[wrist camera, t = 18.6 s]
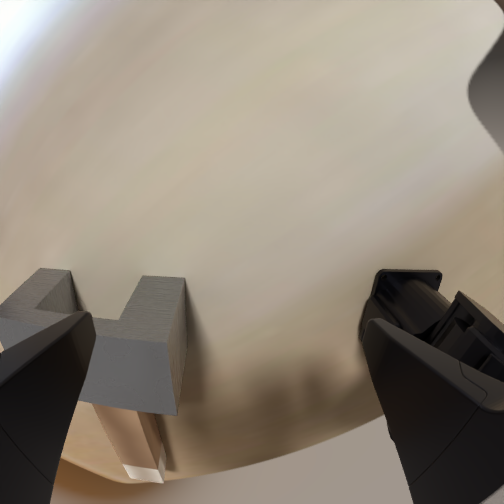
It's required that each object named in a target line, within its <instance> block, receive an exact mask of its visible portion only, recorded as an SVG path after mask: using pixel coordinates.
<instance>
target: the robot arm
mask: <svg viewBox="0 0 504 504" xmlns="http://www.w3.org/2000/svg"><path fill="white" fill-rule="evenodd" d="M383 275H385V276H384V277H383V278H381V277H382V276H383ZM436 276H437V278H436ZM441 280H442V273H441V272H440V271H438V270H398V269H382V270H380V271H379V272H378V273H377V275H376V279H375V283H374V286H373V290H372V294H371V296H370V298H369V300H368V304H367V308H366V311H365V314H364V318H363V321H362V328H361V332H360V335H359V338H360V340H361V341H362V345H363V349H364V353H365V356H366V360H367V364H368V367H369V371H370V375H371V379H372V382H373V385H374V388H375V390H376V393H377V396H378V398H379V401H380V404H381V406H382V409H383V412H384V414H385V417H386V420H387V426H388V431H389V434H390V437H391V439H392V440H393V441H394V443H395V445H396V449H397V452H398V455H399V458H400V461H401V464H402V467H403V470H404V473H405V476H406V480H407V482H408V486H409V490H410V493H411V497H412V500H413V504H504V324H502V323H501V322H500V321H499V320H498V319H497V318H496V317H495V316H493V315H492V314H491V313H490V312H489V311H488V310H486V309H485V308H484V307H482V306H481V305H479V304H478V303H477V302H475V301H474V300H472V299H471V298H469V297H468V296H467V295H465V294H464V293H462V292H461V291H458V292H457V294H456V295H455V299H454V301H453V302H452V304H451V303H450V302H449V301H448V300H447V299H446V298H445V297H444V296H442V295H441V294H440V293H439V292H438V289H439V286H440V283H441ZM95 341H96V331H95V327H94V323H93V319H92V315H91V313H89V312H85V311H77V312H76V313H74V314H72V315H70V316H68V317H66V318H64V319H62V320H60V321H58V322H56V323H55V324H53V325H51V326H49V327H47V328H45V329H43V330H41V331H39V332H38V333H36V334H34V335H32V336H30V337H28V338H26V339H25V340H23V341H21V342H19V343H17V344H15V345H14V346H12V347H10V348H8V349H6V350H4V351H3V352H2V353H0V504H50V500H51V495H52V491H53V485H54V481H55V477H56V472H57V469H58V465H59V461H60V457H61V453H62V450H63V446H64V443H65V439H66V436H67V433H68V429H69V426H70V423H71V420H72V417H73V414H74V411H75V408H76V405H77V402H78V399H79V396H80V393H81V390H82V387H83V385H84V382H85V379H86V375H87V372H88V368H89V364H90V360H91V356H92V352H93V349H94V345H95Z"/></svg>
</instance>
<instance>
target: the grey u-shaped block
mask: <svg viewBox="0 0 504 504" xmlns="http://www.w3.org/2000/svg"><path fill="white" fill-rule="evenodd" d="M77 311H78V307H77V303H76V299H75V294H74V289H73V284H72V279H71V274H70V271H69V270H56V269H45V268H40V269H39V270H38V271H36V272H35V273H34V274H33V275H32V276H31V277H30V278H29V279H27V280H26V281H25V282H24V283H23V284H22V285H21V286H20V287H19V288H18V289H17V290H15V291H14V292H13V293H12V294H11V295H10V296H9V297H8V298H7V299H6V300H5V301H4V302H3V303H2V304H1V305H0V341H1V343H2V346H3V348H4V350H6V349H8V348H10V347H12V346H14V345H15V344H17V343H19V342H21V341H23V340H25V339H26V338H28V337H30V336H32V335H34V334H36V333H38V332H39V331H41V330H43V329H45V328H47V327H49V326H51V325H53V324H55V323H56V322H58V321H60V320H62V319H64V318H66V317H68V316H70V315H72V314H74V313H76V312H77ZM92 319H93V323H94V327H95V331H96V341H95V345H94V349H93V352H92V356H91V360H90V364H89V368H88V372H87V375H86V379H85V382H84V385H83V387H82V390H81V393H80V396H79V399H78V400H79V401H84V402H89V403H93V404H98V405H103V406H109V407H114V408H120V409H127V410H133V411H140V412H148V413H156V414H165V415H176V416H177V414H178V407H179V400H180V393H181V386H182V379H183V373H184V366H185V360H186V354H187V348H188V342H187V325H186V303H185V278H177V277H158V276H142V278H141V279H140V281H139V283H138V285H137V287H136V289H135V290H134V292H133V294H132V296H131V298H130V300H129V301H128V303H127V305H126V307H125V309H124V311H123V313H122V315H121V317H120V319H119V320H110V319H101V318H93V317H92Z"/></svg>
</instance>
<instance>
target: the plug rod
mask: <svg viewBox="0 0 504 504" xmlns="http://www.w3.org/2000/svg"><path fill="white" fill-rule="evenodd" d="M92 405H93V407H94V409H95V411H96V414H97V416H98V418H99V420H100V422H101V424H102V426H103V428H104V430H105V432H106V434H107V436H108V438H109V440H110V442H111V444H112V446H113V448H114V450H115V452H116V453H117V455H118V457H119V459H120V461H121V462H122V464H123V466H124V468H125V469H126V471H127V473H128V474H129V476H130V478H133V479H138V480H144V481H151V482H158V483H164V476H165V467H166V459H167V456H166V453H165V450H164V447H163V443H162V440H161V436H160V433H159V429H158V426H157V422H156V418H155V415H154V413H148V412H140V411H133V410H127V409H120V408H114V407H109V406H103V405H98V404H93V403H92Z"/></svg>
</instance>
